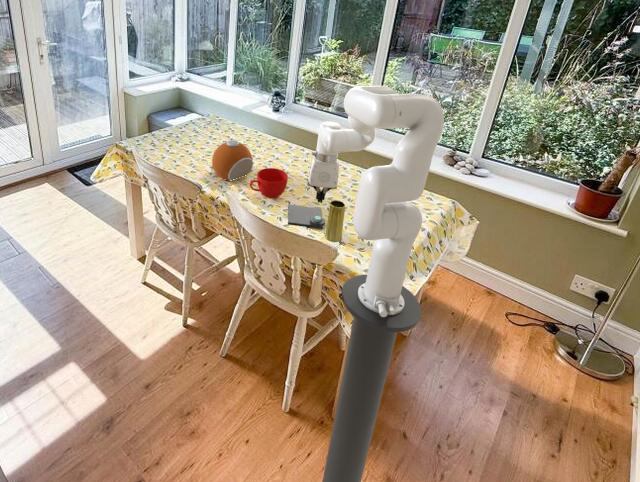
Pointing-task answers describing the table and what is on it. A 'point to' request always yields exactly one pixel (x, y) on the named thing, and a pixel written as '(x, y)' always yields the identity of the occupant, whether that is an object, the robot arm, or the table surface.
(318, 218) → the button
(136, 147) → the table surface
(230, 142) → the alarm clock
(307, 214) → the scale
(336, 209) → the vase
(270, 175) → the ceramic cup
